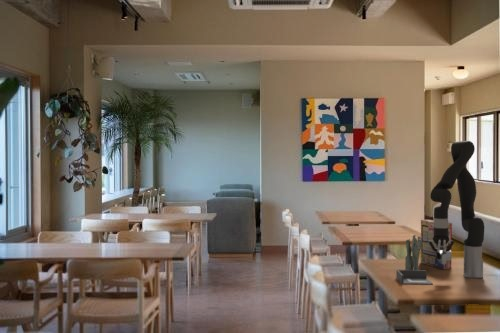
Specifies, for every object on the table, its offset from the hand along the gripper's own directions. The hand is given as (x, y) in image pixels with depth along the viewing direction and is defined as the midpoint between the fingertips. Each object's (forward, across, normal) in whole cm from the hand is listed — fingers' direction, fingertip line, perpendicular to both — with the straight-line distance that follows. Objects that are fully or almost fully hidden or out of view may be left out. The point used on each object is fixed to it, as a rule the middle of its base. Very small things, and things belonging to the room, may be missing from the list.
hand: (441, 259), depth 287 cm
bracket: (+12, +9, -26) cm, 30 cm away
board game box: (+13, -8, -40) cm, 42 cm away
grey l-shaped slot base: (+12, +14, 0) cm, 18 cm away
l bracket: (+1, -3, 0) cm, 3 cm away
